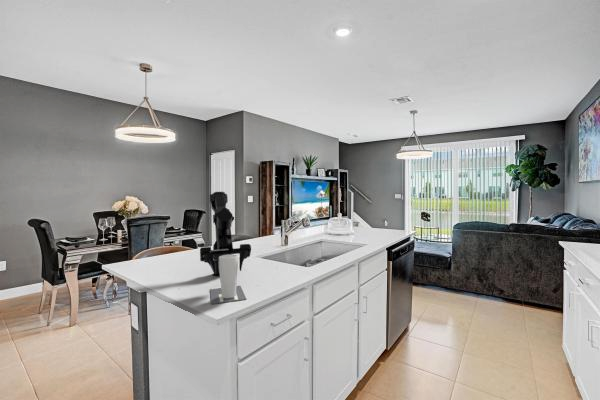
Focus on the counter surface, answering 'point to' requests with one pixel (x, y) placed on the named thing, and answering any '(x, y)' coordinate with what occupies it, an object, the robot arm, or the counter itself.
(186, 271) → the counter surface
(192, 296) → the counter surface
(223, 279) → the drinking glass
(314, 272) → the counter surface
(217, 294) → the board
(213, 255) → the robot arm
